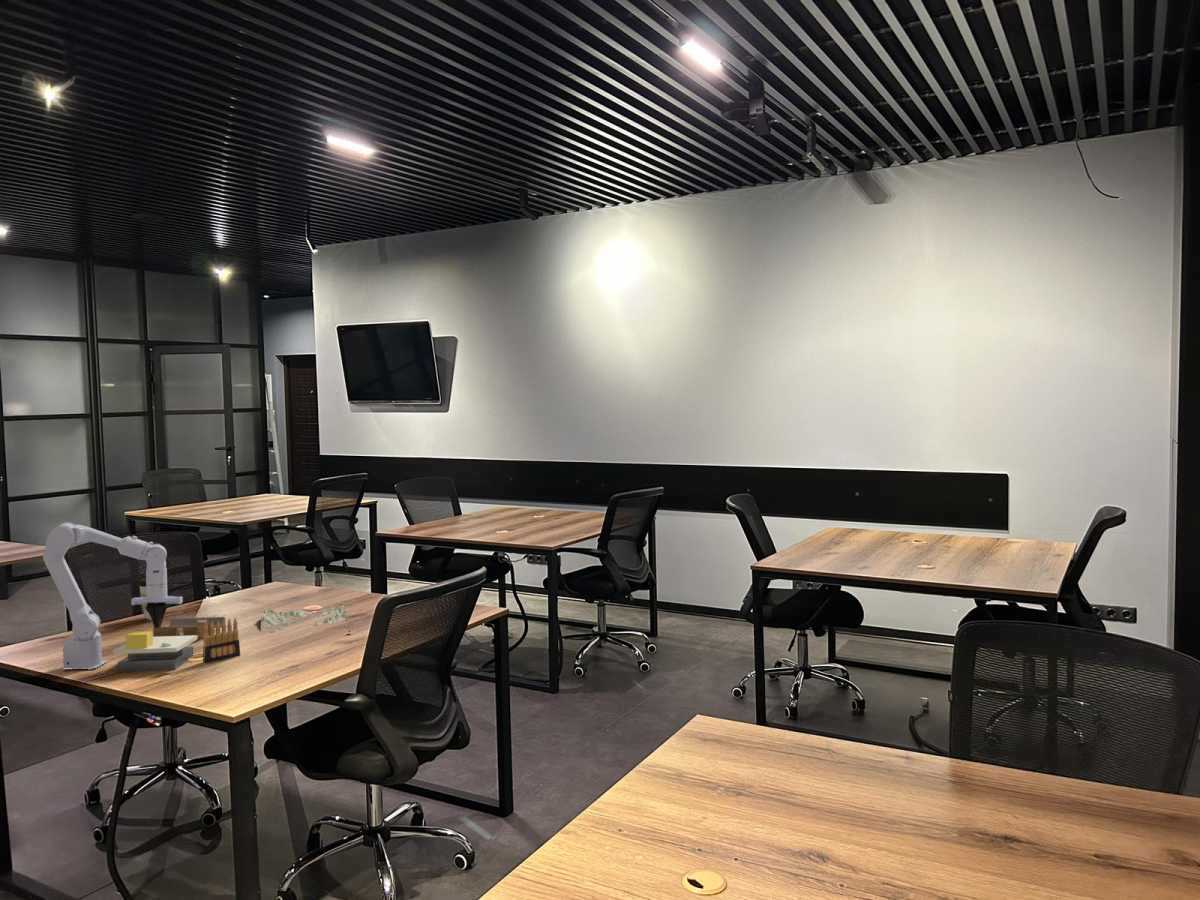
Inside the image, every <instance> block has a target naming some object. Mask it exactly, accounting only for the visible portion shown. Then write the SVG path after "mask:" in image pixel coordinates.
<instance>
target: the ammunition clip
mask: <svg viewBox="0 0 1200 900" xmlns="http://www.w3.org/2000/svg"><path fill="white" fill-rule="evenodd" d="M232 624H233V625H232ZM226 626H227V627H226ZM202 649H203V650H202V653H203V654H202V662H203V663H205V664H208V663H212V661H213V662H217V660H218V661H222V660H226V658H227V659H230V657H232V658H236V657H235V656H237V657H241V646H240V639H239V629H238V620H237V619H236V617H235V618H234V619H233V623H232V621H231V619H230V618H229V619H228V621H227V625H226V620H225V621H224V620H223V622H222V629H220V625H219V622H218V621H217V624H216V629H214V625H213V623H211V626H210V637H209V632H208V626H207V623H206V624H205V627H204V638H203V647H202Z"/></svg>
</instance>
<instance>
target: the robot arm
mask: <svg viewBox="0 0 1200 900" xmlns="http://www.w3.org/2000/svg"><path fill="white" fill-rule="evenodd" d="M75 541H76V542H75ZM74 542H75V543H77V544H80V543H85V542H92V543H94V544H100V545H103V546H107V547H111V548H114V549H117V550H118V552H119V554H120V555H123V556H127V557H130V558H133V559H135V560H140V561H143V560H144V561H145V562H146V570H145V578H146V591H147V597H141V596H139V597H133V598H131V600H130V601H131V602H130V603H131V606H135V605H142V604H147V606H146V610H147V612H148V613H149V615H150V617H151V619H152V620H151V622H152V624H153V628H159V627H162V626H163V624H162V623H163V620H164V617H165V614H166V611H167V609H168V607H169V606H170V605H171V604H176V605H177V604H178V605H181V604H182V603H184V602H183V598H184V597H183V596H175V595H168V583H167V582H168V571H167V570H168V568H167V562H166V559H167V556H168V555H167V553H168V552H167V549H166V548H165V547H164V546H163V545H161V544H160V543H154V542H153V541H150V542H147V541H144V540H141V539H139V538H138V536H135V535H132V536H129V535H128V536H126V537H123V538H121V537H118V536H115V535H112V534H110V533H107V532H104V531H100V530H98V529H95V528H93V527H89V526H86V525H82V524H78V523H77V524H75V523H73V522H69V521H68V522H61V523H60V524H58V525H57V526H56V527H54V528H53V529H52V530H51V531H50V533H49V534H48V536H47V537H46V541H45V546H44V551H43V555H42V559H43V560H42V561H43V562H44V564H45V566H46V568H47V570H48V572H49V574H50V576H51V579H52V581H53V582H54V585H55V587H56V588H57V590H58V592H59V595H60V597H61V599H62V600H63V603H64V604H65V606H66V608H67V610H68V612H69V618H70V621H71V623H72V628H71V629H72V633H73V636H72V637H69V638H66V640H65V641H64V643H63V647H62V657H63V668H72V669H73V668H74V669H76V668H77V669H82V668H83V669H84V668H96V669H98V668H100V667H101V666H103V665H104V663H105V664H106V663H108V662H109V661H108V659H107V660H105V659H103V657H102V656H103V655H102V633H100V631H99V630H98V629H99V627H100V625H101V618H100V616H99V615H98V614H97V613H95V612H94V611H93V610H92V608H91V606H90V605H89V604H88V603H87V602H86V599H85V598H84V595H83V593H82V591H81V589H80V588H79V585H78V583H77V581H76V579H75V577H74V575H73V573H72V570H71V568H70V567H69V565H68V563H67V560H66V559H65V555H66V554H67V551H68V549H69V548H70V546H71V545H72V544H73V543H74ZM169 604H170V605H169ZM107 661H108V662H107ZM102 664H103V665H102ZM99 666H100V667H99ZM97 667H98V668H97Z"/></svg>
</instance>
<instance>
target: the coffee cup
mask: <svg viewBox="0 0 1200 900" xmlns="http://www.w3.org/2000/svg"><path fill="white" fill-rule="evenodd" d="M168 583H169V582H168V581H167V584H168ZM137 585H138V587H139V591H140V592H139V595H140V596H139V597H147V591H146V577H144V578H140V580H139V582H138V583H137ZM141 606H142V611H143V616H144V619H145V618H147V619H151V617H150V615H149V613H148V612H147V610H146V606H147V604H141Z"/></svg>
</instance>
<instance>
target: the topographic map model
mask: <svg viewBox="0 0 1200 900" xmlns="http://www.w3.org/2000/svg"><path fill="white" fill-rule="evenodd" d="M321 611H322V613H321V614H318V616H321V615H326V614H331V615H336V614H339V613H342V614H341V615H340V614H339V615H336V616H335V618H331V617H330V615H328V616H329V617H327V618H326V619H325V620H324V621H323V623H328V624H331V623H332V622H339V621H342V620H347V621H348V615H347V612H346V611H347V610H346V607H345V602H342V603H341V604H340V605H339V606H338V607H333V606H331V607H330V608H326V609H322V610H321ZM323 611H325V612H323ZM312 613H314V612H311V611H306V610H298V609H292V610H289V611H288V612H287V611H286V612H283V611H280V613H279V612H277V611H276V610H273V609H267V610H262V611H261V614H260V615H261V618H260V630H261V629H262V628H263V627H265V626H271V625H277V624H278V623H284V624H283V626H288V625H291V624H289V623H291V622H288V621H294V620H290V619H287V618H285V617H296V618H298V617H305V616H307V615H306V614H312ZM315 617H316V616H315ZM323 617H326V616H323ZM319 618H321V617H319ZM296 621H297V620H296ZM320 624H322V622H320V623H319V622H315V624H314V625H313V626H319V625H320ZM278 630H284V628H279V629H278ZM278 630H273V631H272V630H271V631H269V632H270V633H275V632H278Z"/></svg>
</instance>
